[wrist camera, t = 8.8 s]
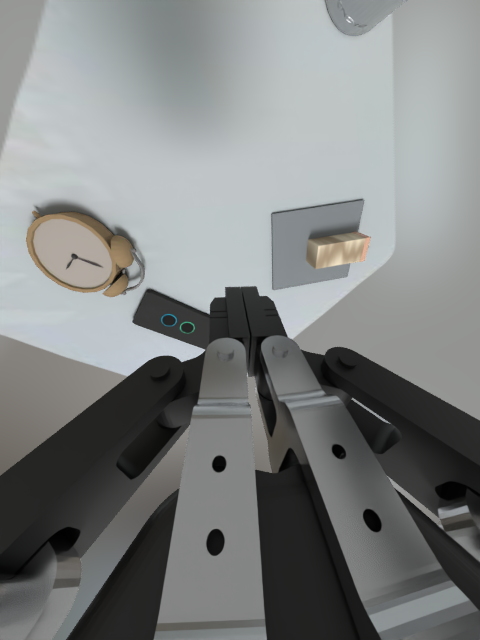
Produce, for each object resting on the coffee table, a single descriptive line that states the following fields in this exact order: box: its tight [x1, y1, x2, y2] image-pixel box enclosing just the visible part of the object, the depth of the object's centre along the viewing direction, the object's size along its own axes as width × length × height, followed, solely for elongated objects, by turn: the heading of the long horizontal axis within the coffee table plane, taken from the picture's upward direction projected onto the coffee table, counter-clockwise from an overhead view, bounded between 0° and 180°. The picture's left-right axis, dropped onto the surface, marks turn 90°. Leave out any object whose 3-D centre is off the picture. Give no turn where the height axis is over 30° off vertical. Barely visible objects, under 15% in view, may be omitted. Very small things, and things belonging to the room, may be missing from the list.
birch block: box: [306, 231, 371, 269], centre depth 37 cm, size 4×4×9 cm
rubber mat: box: [272, 200, 365, 290], centre depth 38 cm, size 14×16×1 cm
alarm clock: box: [26, 211, 145, 297], centre depth 32 cm, size 11×5×15 cm
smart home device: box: [132, 290, 210, 349], centre depth 43 cm, size 8×2×20 cm
